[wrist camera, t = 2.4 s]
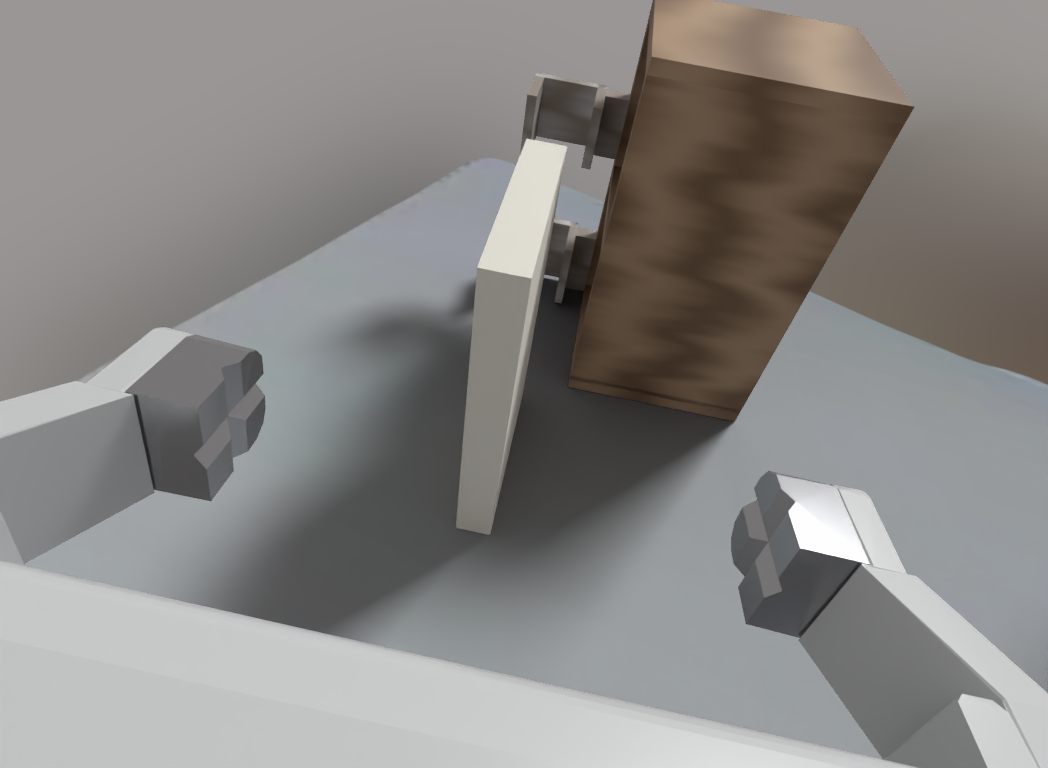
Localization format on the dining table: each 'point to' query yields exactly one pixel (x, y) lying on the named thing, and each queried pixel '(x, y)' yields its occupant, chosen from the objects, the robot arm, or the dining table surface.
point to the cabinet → (712, 194)
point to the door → (505, 328)
